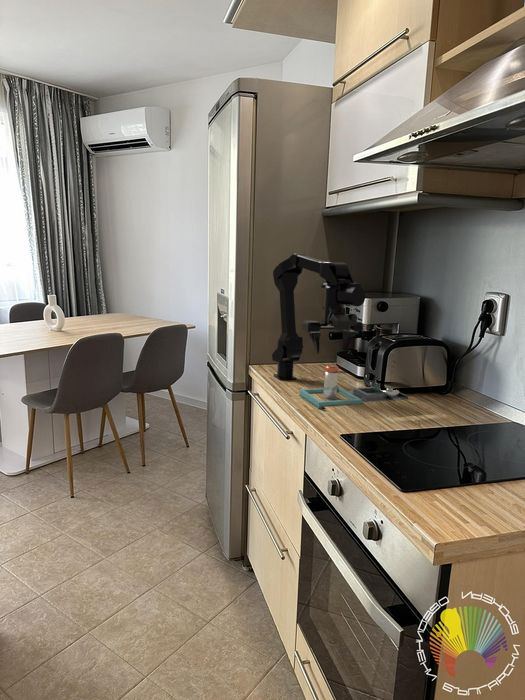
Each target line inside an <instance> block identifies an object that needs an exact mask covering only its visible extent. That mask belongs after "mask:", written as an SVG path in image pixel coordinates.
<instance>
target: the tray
mask: <svg viewBox="0 0 525 700" xmlns="http://www.w3.org/2000/svg"><path fill="white" fill-rule="evenodd" d="M347 391H348V390H345V389H343V388H342V387H338V386H337V393H340V394H341V395H343V396H345V397H346V398H348V399H338V400H337V399H335V400H322V401H321V400H319V399H318V398H317V397H315V396H314V395H312V394H316V393H323V392H324V387H321V388H320V387H319V388H304V389H303V388H300V389H299V392H298V393H299V395H298V396H299V397H301V398H302V399H303V400H305V401H306V402H308V403H309V404H310V405H312V406H313V405H314V406H313V407H315V408H316V409H317V410H326V409H327V408H326V407H327V406H340V405H341V406H343V405H357V404H358V405H359V404H363V402H362V400H361V399H360V398H358V397H356V396H354V395H352V394H351V393H349V392H347ZM325 406H326V407H325Z"/></svg>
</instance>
